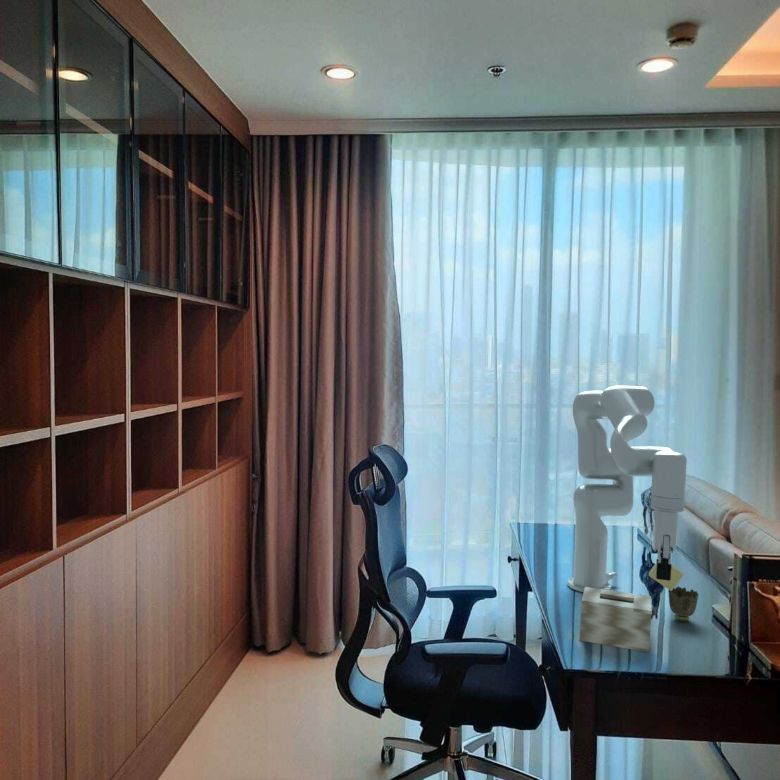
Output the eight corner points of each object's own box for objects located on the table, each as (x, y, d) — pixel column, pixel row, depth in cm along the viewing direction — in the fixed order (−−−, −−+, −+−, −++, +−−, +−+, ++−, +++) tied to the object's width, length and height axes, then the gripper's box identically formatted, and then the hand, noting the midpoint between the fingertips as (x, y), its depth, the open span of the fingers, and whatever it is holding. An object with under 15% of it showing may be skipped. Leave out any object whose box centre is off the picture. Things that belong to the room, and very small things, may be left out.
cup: (662, 619, 182) (663, 590, 181) (673, 612, 187) (675, 584, 187) (690, 628, 176) (691, 597, 176) (701, 621, 182) (702, 591, 181)
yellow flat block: (682, 571, 164) (660, 557, 165) (683, 574, 162) (660, 559, 163) (670, 588, 165) (648, 573, 166) (671, 591, 163) (648, 575, 164)
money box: (649, 635, 171) (651, 596, 170) (649, 652, 160) (651, 610, 160) (583, 624, 176) (585, 586, 176) (579, 640, 166) (581, 600, 166)
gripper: (649, 495, 172) (645, 566, 173) (651, 507, 157) (647, 585, 158) (681, 498, 169) (677, 570, 170) (686, 511, 154) (682, 590, 155)
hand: (663, 577), depth 164 cm, fingers closed on yellow flat block, 2 cm apart
